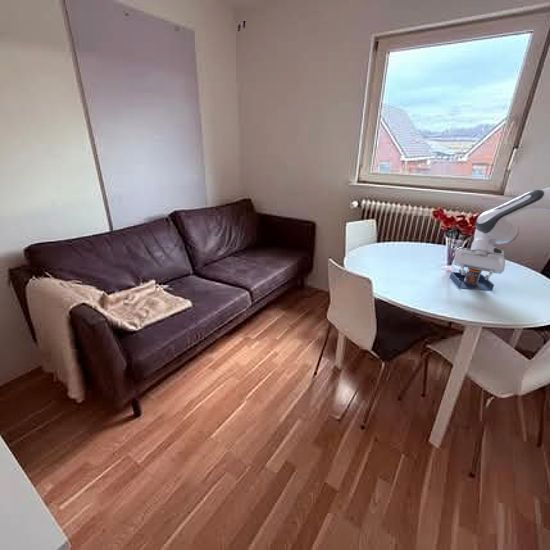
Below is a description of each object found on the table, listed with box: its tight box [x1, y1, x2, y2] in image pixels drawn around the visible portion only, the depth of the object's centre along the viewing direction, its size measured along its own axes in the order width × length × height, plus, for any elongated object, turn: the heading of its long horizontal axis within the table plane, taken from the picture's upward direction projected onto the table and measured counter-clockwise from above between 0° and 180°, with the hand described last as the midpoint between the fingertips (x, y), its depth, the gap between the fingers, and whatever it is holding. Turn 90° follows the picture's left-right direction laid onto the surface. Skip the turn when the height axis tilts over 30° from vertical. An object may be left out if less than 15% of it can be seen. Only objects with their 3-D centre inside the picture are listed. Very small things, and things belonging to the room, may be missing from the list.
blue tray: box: [449, 268, 495, 292], centre depth 158 cm, size 20×15×3 cm
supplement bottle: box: [464, 268, 482, 286], centre depth 152 cm, size 6×6×11 cm
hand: (474, 276), depth 142 cm, fingers open, 8 cm apart
